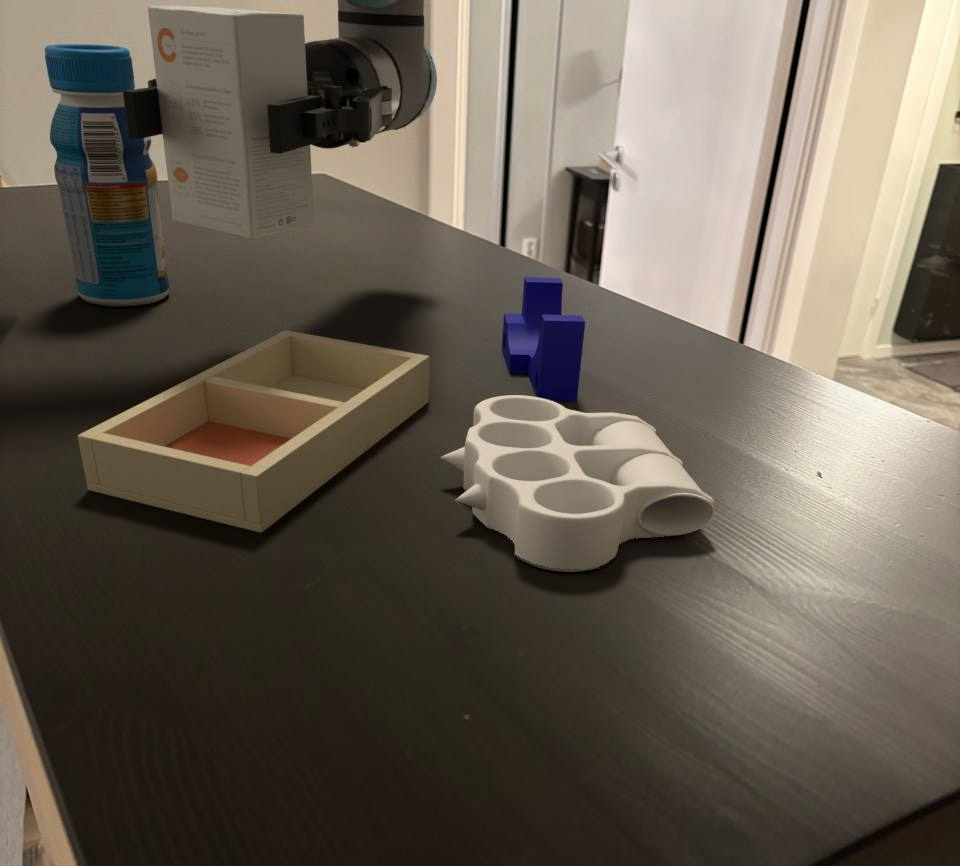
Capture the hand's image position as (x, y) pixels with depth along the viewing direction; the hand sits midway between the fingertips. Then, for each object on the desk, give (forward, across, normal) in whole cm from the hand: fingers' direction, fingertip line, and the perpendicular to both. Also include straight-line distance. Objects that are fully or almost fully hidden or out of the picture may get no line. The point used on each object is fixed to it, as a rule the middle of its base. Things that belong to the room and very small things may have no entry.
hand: (201, 122), depth 63 cm
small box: (-4, 0, -7) cm, 8 cm away
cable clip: (-14, -20, -18) cm, 30 cm away
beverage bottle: (-19, +20, -18) cm, 33 cm away
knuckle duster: (+8, -27, -18) cm, 34 cm away
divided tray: (+7, -7, -18) cm, 20 cm away
